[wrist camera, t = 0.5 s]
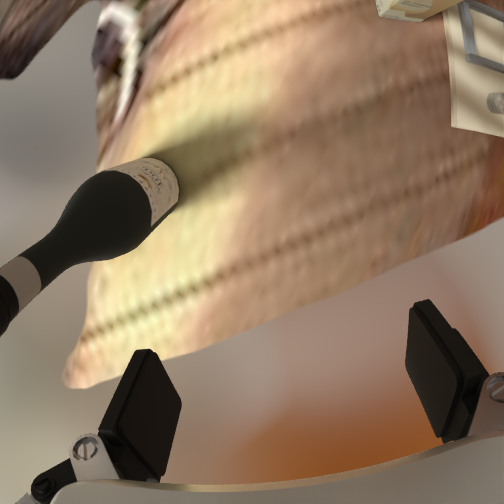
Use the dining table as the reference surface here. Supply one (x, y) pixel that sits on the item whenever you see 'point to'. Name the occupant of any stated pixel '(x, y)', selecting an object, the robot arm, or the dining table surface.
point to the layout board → (475, 64)
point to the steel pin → (496, 103)
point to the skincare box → (412, 8)
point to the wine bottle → (92, 229)
